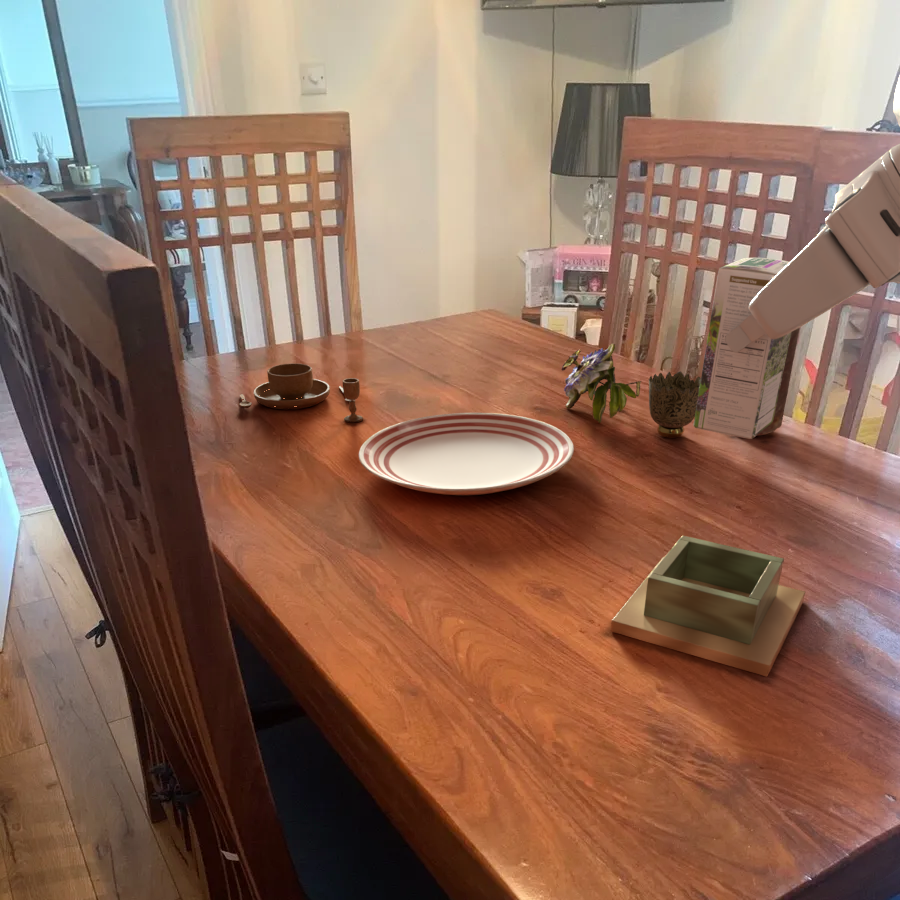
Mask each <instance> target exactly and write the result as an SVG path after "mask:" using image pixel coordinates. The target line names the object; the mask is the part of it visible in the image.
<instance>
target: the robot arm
mask: <svg viewBox="0 0 900 900" xmlns="http://www.w3.org/2000/svg"><path fill="white" fill-rule="evenodd" d="M892 112H893V114H894V116H895V119H896V121H897V124H898V126H899V127H900V75H899V77H898V80H897V84H896V87H895V92H894V98H893V104H892ZM828 214H829V215H828V216H827V217H825V220H824V222H825V226H823V227H822V229H821V230H820V231H819V233H818V234H816V236H815V237H813V239H812V240H810V242H808V244H807V245H806V246H805V247H804V248H802V249H801V250H800V252H798V253H797V255H796V256H794V257H793V258H792V259H791V260H790V261H788V262H789V263H788V264H787V265H786V266H785V267H784V268H783V269H782V270H781V271H780V272H779V273H778V274H777V275H776V276H775V277H774V278H773V279H772V280H771V281H770V282H769V283H768V284H767V285H766V286H765V287H764V288H763V289H762V290H761V291H760V292H759V293H758V294H757V295H756V296H755V297H754V298H753V300H752V301H751V302H750V304H749V310H750V312H751V314H750V315H749V316H748V317H747V318H746V319H745V320H744V321H743V322H742V323H741V324H740V325H739V326H737V327H736V328H735V329H734V330H732V331H731V332H730V333H729V334H727V335H726V337H725V342H726V343H727V345H728V346H729V347H730V349H731V350H732V351H733V352H735V353H737V352H740V351H741V350H742V349H744V348H745V347H746V346H748V345H749V344H750V343H752V342H753V341H755V340H757V339H758V338H760V337H762V336H764V335H765V334H767V335H768V336H769V337H770V338H771V339H778V338H780V337H783V336H785V335H787V334H789V333H791V332H792V331H794V330H796V329H798V328H799V329H800V328H801V327H803V326H805V325H806V324H808V323H809V322H811V321H813V320H815V319H816V318H818V317H819V316H821V315H823V314H825V313H826V312H828V311H829V310H831V309H834V307H837V306H838V305H840V304H841V303H843V302H844V301H847V300H848V299H849V298H851V297H854V296H855V295H857V294H858V293H860V292H861V291H863V290H865V289H866V288H868V287H870V286H871V287H872V288H873V289H878V288H880V287H883V286H884V285H886V284H889V283H895V284H900V143H898V144H896V145H894V146H892V147H890V149H889V150H887V151H886V152H884V154H883V155H881V156H880V157H879V158H877V159H876V160H875V161H874V162H873V163H872V164H870V165H869V166H867V168H866V169H864V170H863V171H861V172H860V173H859V174H858V175H857V176H856V177H854V178H853V179H852V180H851V181H850V182H849V183H848V184H846V185H845V186H844V187H843V188H841V189H840V190H839V191H838V192H836V193H835V196H834V205H833V209H832V210H831V212H830V213H828Z"/></svg>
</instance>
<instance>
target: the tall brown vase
mask: <svg viewBox="0 0 900 900" xmlns="http://www.w3.org/2000/svg"><path fill="white" fill-rule="evenodd" d="M799 333H800V328H798V329H796V330H794V331H792V332H791V337H790V342H789V347H788V351H787V356H786V361H785V366H784V370H783V375H782V380H781V385H780V390H779V395H778V399H777V404H776V409H775V414H774V419H773V422H772V423H771V424H770V425H768V426H767V427H766V428H765V429H764V430H762V431H761V432H760V433H759V434H757V435H756V436H763V435H764V436H765V435H768V434H770V433H773V432H776V431H777V430H778V429H779V428H781V427H782V424H783V419H784V415H785V407H786V404H787V399H788V393H789V388H790V387H789V386H790V382H791V381H790V380H791V376H792V370H793V364H794V359H795V355H796V353H795V352H796V349H797V343H798V337H799Z"/></svg>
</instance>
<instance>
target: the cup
mask: <svg viewBox="0 0 900 900" xmlns="http://www.w3.org/2000/svg"><path fill="white" fill-rule="evenodd" d="M700 382H701V376H697V377H696V378H695V380H694V379H690V374H689V373H686V374H685V375H684V373H683V372H682V371H678V372H676V373H675V374H673V375H672V373H671V372H670V371H668V372H667V373H666V375H665V376H664V374H663V373H662V372H659V373H658V374H657V373H655V374H653V376H652V375H649V378H648V407H649V414H650V418H651V419H652V420H653V421H654V423H656V424H657V425H658V426H657V428H656V430H657V433H658V435H659V436H661V437H663V438H666V439H676V438H680V437H682V435H683V434H684V432H685V427H686V426H687V425H689V424H690V423H692V422H693V421H694V420H695V413H696V407H697V401H698V394H699V388H700Z"/></svg>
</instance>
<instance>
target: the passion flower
mask: <svg viewBox="0 0 900 900" xmlns="http://www.w3.org/2000/svg"><path fill="white" fill-rule="evenodd" d="M615 349H616V343H611V344H609V346H608V348H607V349H604V347H601V348H598V349H597V350H596V349H595V350H594V351H591V352H590V353H587V354H586V356H584V355H583V356H582V360H581V362H580V363H579V362H578V358H579V356H580V353H582V349H581V348H579V349H578V350H576V351H574V352H573V353H572V354H571V355H569V357H568V359H567V360H566V361H564V363H563V365H562V367H561V368H560V369H561V370H560V371H561V372H562V371H565V370H566V369H567V368H568V367H570V366H572V365H575V366H574V367H573V369H572V372H571V373H570V374H569V375H568V377H566V378H565V380H564V382H565V386H564V388H563V391H564V394H565V396H566V397H568V401H567V403H566V404H565V406H564V407H565V408H566V409H572V408H573V407H575V405H576V403H577V402H578V401H579V400H580V398H581V396H582V395H584V394H586V393H588V394H587V396H588V398H589V400H590V401H592V416H593V420H595V421H597V422H598V424H601V423H602V417H603V414H604V412H605V410H606V407H607V398H608V396H607V393H608V391H609V399H610V400H609V404H608V406H609V408H608V411H609V419H612V418H613V417H615V416H616V415H617V414H618V413H621V412H622V411H623V410H624V409H625V407H626V405H627V401H628V397H629V398H632V399H637V397H639V396H640V393H641V392H640V391H641V383H642V380H638V381H633V382H629V383H623V382H616V374H615V370H616V367H615V366H614V358H613V353H614V351H615ZM604 380H606V381H605V383H604V382H602V381H604ZM599 384H601V385H599ZM635 384H636V387H635V388H636V390H635V391H634V390H633V389H632V387H630V385H635ZM598 385H599V386H598Z"/></svg>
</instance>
